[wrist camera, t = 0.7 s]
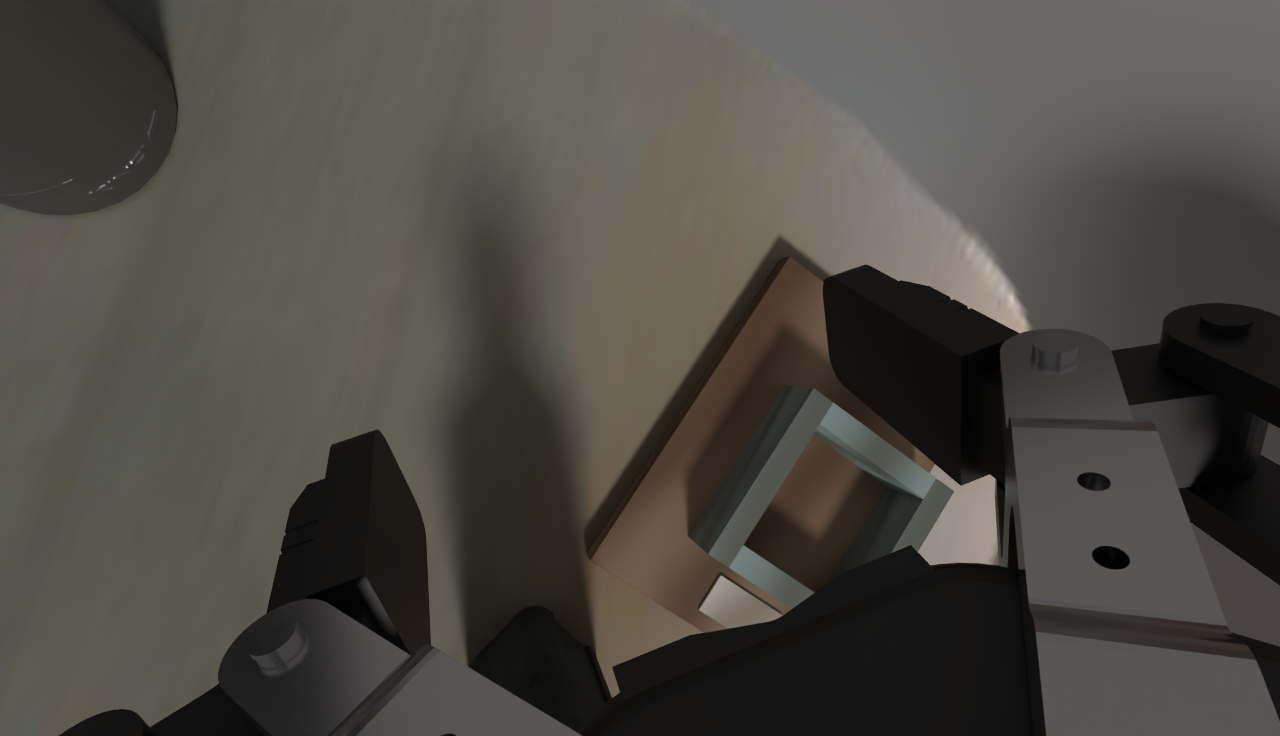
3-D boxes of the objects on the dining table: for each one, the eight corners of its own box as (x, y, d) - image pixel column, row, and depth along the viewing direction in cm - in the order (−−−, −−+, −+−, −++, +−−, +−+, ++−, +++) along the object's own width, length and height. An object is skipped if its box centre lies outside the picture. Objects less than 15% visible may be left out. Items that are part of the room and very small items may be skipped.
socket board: (586, 553, 36) (601, 581, 31) (780, 259, 38) (819, 247, 33) (787, 680, 38) (826, 721, 34) (959, 397, 40) (1017, 403, 36)
